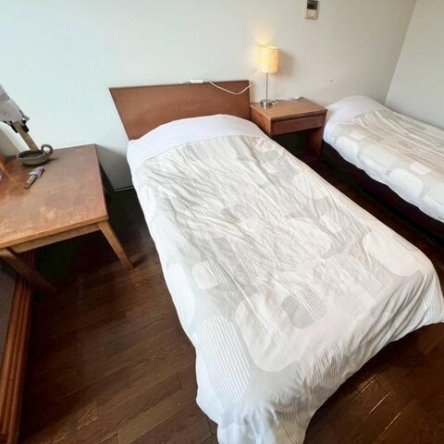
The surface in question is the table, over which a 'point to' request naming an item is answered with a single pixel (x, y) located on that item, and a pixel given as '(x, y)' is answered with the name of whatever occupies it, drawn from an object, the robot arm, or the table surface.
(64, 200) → the table surface
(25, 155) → the bowl
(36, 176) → the paintbrush
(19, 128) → the stick
